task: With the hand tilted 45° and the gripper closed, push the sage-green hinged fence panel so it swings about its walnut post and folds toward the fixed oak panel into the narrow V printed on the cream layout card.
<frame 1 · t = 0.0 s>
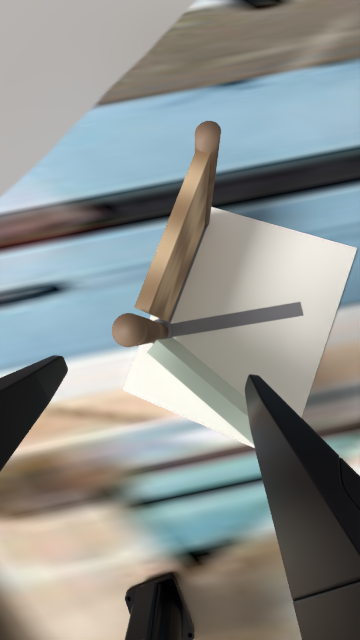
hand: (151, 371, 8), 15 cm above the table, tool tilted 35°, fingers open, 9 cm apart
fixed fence: (160, 332, 23), resting on layout card
layout card: (236, 321, 23), on the table
folding panel: (235, 403, 16), point 6 cm above the table, hinge at -18.4°
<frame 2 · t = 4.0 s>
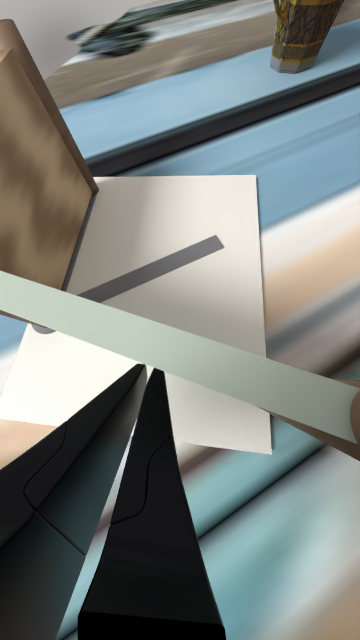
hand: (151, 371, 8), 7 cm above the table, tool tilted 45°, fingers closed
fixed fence: (49, 316, 16), resting on layout card
ceramic cup: (282, 68, 28), on the table
layout card: (149, 276, 17), on the table
folding panel: (135, 344, 10), point 6 cm above the table, hinge at -14.3°, touching gripper
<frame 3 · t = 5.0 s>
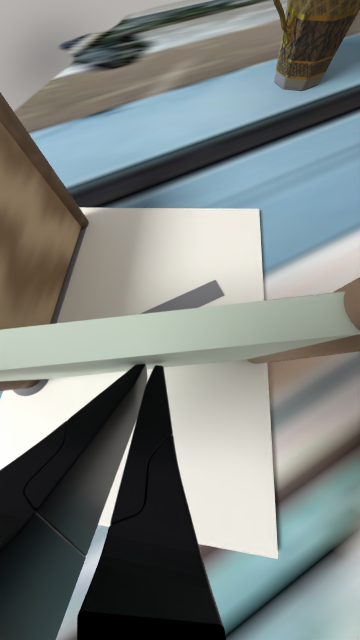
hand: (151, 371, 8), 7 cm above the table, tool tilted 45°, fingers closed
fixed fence: (31, 373, 15), resting on layout card
ceramic cup: (287, 84, 26), on the table
layout card: (141, 327, 16), on the table
folding panel: (137, 355, 9), point 6 cm above the table, hinge at 10.6°, touching gripper
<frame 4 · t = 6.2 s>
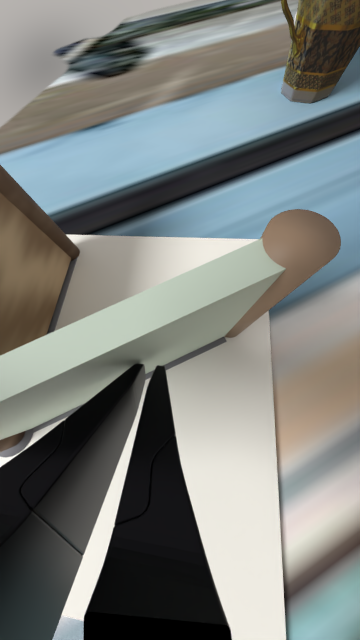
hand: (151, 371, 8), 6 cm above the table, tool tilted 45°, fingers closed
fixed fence: (12, 429, 13), resting on layout card
ceramic cup: (295, 95, 24), on the table
layout card: (134, 375, 14), on the table
folding panel: (112, 367, 9), point 6 cm above the table, hinge at 30.5°, touching gripper
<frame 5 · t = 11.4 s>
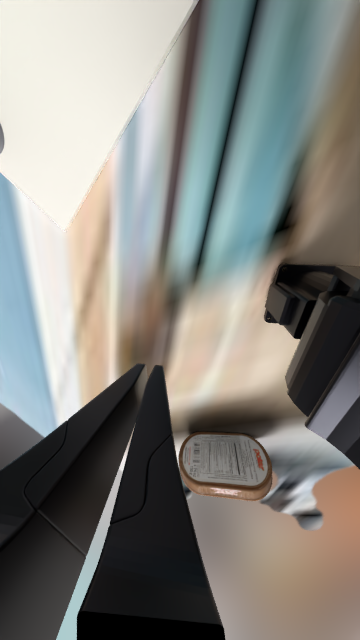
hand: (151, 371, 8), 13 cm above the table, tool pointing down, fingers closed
tin: (220, 433, 32), on the table
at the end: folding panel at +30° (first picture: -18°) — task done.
